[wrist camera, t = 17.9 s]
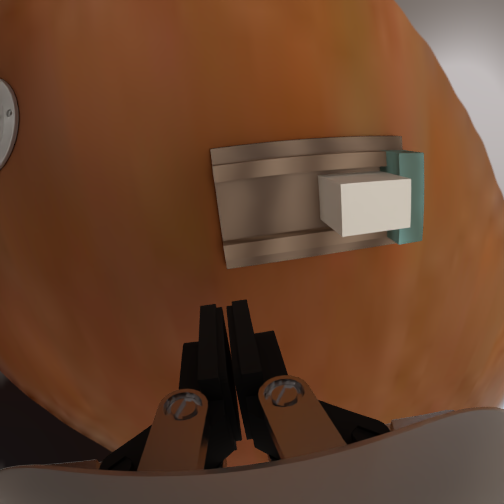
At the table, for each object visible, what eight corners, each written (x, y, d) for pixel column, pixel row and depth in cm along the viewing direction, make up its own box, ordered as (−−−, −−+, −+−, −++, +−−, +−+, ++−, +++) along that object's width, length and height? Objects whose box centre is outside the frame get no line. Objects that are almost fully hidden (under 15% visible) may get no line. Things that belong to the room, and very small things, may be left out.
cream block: (320, 219, 32) (342, 236, 27) (317, 175, 31) (340, 184, 25) (380, 212, 33) (410, 227, 27) (379, 170, 31) (411, 178, 26)
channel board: (226, 263, 34) (229, 286, 29) (210, 149, 30) (209, 150, 25) (395, 238, 36) (421, 254, 31) (394, 135, 31) (422, 137, 26)
